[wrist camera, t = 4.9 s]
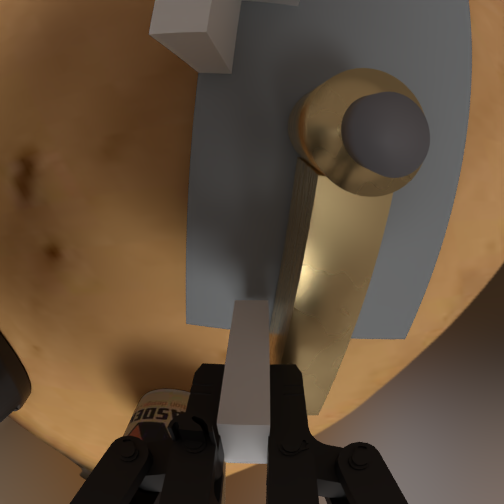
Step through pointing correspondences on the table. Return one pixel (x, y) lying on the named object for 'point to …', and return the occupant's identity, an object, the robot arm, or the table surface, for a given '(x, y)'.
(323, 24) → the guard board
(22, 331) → the table surface
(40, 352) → the table surface
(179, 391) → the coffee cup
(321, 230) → the swing bar
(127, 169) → the table surface
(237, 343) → the robot arm
